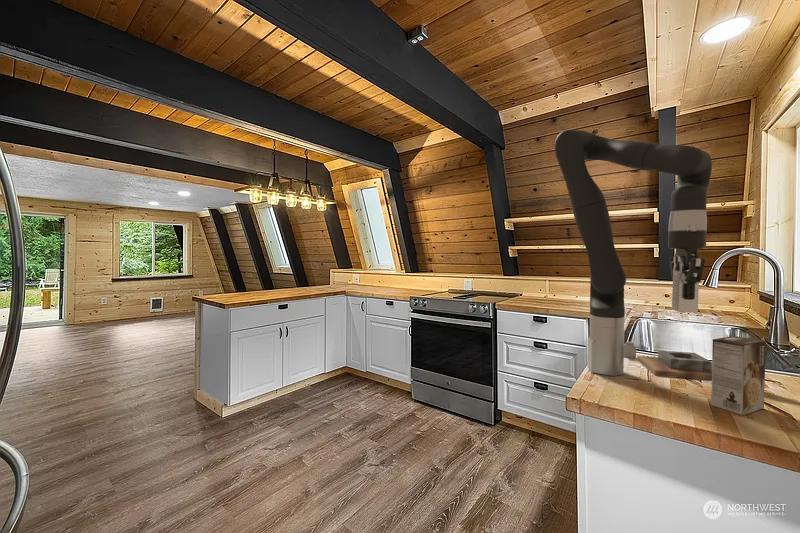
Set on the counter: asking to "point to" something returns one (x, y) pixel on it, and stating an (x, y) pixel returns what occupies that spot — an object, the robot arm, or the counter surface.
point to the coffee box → (738, 374)
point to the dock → (671, 372)
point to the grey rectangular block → (629, 350)
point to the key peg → (677, 295)
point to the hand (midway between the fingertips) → (684, 297)
